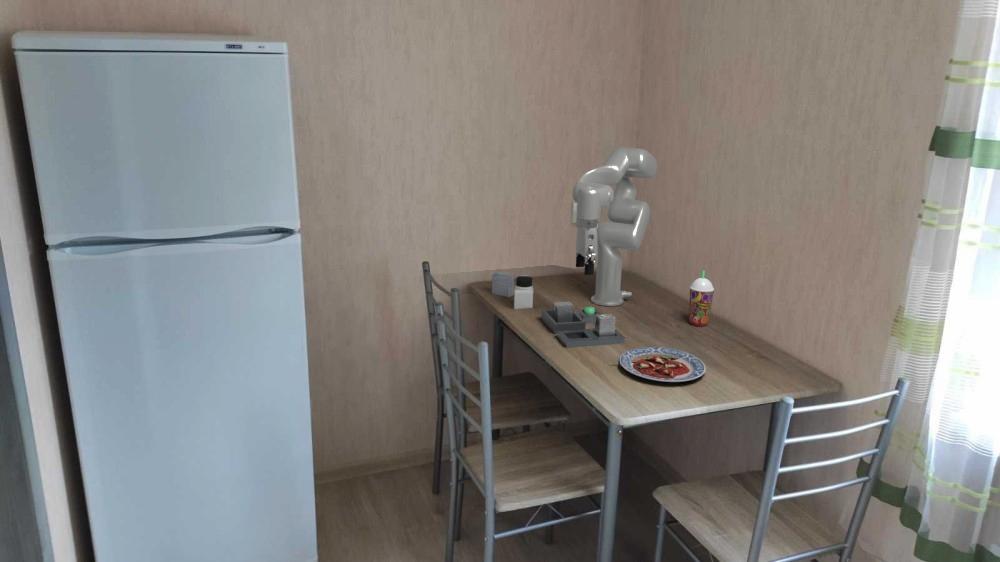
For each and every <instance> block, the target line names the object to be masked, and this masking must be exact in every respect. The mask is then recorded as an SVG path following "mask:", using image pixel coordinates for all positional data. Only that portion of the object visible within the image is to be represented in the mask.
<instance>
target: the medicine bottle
mask: <svg viewBox="0 0 1000 562" xmlns="http://www.w3.org/2000/svg"><path fill="white" fill-rule="evenodd" d="M515 279H516V280H515V285H514V295H513V297H514V298H513V309H514V310H521V309H523V310H524V309H533V308H534V297H535V296H534V294H535V293H534V286H533V278H532V276H529V275H518V276H517V277H516V278H515Z"/></svg>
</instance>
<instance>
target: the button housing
mask: <svg viewBox="0 0 1000 562" xmlns="http://www.w3.org/2000/svg"><path fill="white" fill-rule="evenodd" d="M584 309H585V308H579V309H576V313H577V314H578V315H579V316H580V317H581V318H582V319H583V320H584V321H585V322H586V325H587V324H588V325H589V324H590V325H591V324H595V321H596V315H601V314H602V313H601V312H600V311H599V310H598V309H597V308H595V312H594V314H585V313H584Z"/></svg>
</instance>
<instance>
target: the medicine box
mask: <svg viewBox="0 0 1000 562" xmlns="http://www.w3.org/2000/svg"><path fill="white" fill-rule="evenodd" d="M491 275H492V276H491V277H492V278H491V285H492V286H491V294H492V295H496V296H499V297H505V298H511V297H512V296H514V288H515V274H514V273H508V272H503V271H496V272H494V273H492V274H491Z"/></svg>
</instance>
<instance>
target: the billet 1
mask: <svg viewBox="0 0 1000 562" xmlns="http://www.w3.org/2000/svg"><path fill="white" fill-rule="evenodd" d="M553 309H554V320H555V321H556V323H566V322H573V310H574V304H573V303H572V302H571V301H557V302H556V301H555V302H554V307H553Z"/></svg>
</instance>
